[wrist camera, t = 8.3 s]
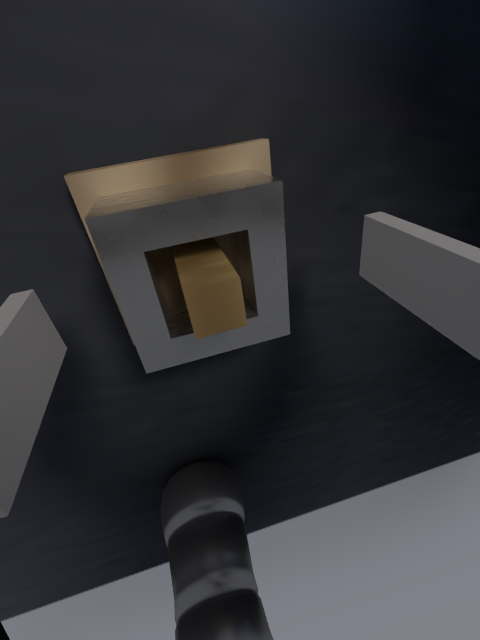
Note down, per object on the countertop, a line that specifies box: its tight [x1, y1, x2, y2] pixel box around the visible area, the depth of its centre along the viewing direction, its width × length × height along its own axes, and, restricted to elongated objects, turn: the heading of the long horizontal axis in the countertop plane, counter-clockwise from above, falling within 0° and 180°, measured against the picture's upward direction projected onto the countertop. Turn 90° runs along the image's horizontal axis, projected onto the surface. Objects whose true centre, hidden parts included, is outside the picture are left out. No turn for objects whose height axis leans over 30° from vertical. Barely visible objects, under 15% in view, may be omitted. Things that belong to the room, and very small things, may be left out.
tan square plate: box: [64, 138, 271, 346], centre depth 14 cm, size 9×9×7 cm
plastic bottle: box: [160, 461, 273, 640], centre depth 19 cm, size 6×7×20 cm
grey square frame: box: [85, 169, 290, 374], centre depth 14 cm, size 7×7×4 cm
